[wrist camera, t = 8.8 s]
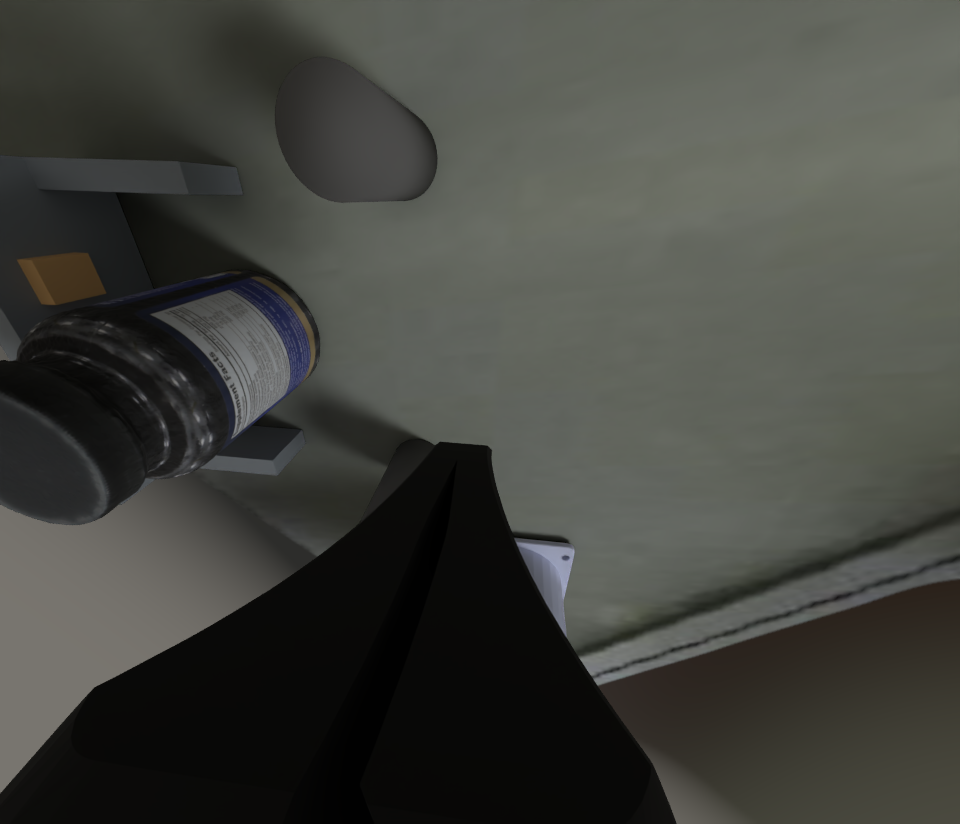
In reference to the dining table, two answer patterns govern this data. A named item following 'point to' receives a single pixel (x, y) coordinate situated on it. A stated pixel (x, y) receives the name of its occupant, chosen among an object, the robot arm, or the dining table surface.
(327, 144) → the post
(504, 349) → the dining table surface
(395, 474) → the post
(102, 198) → the rectangular block
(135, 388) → the pill bottle
